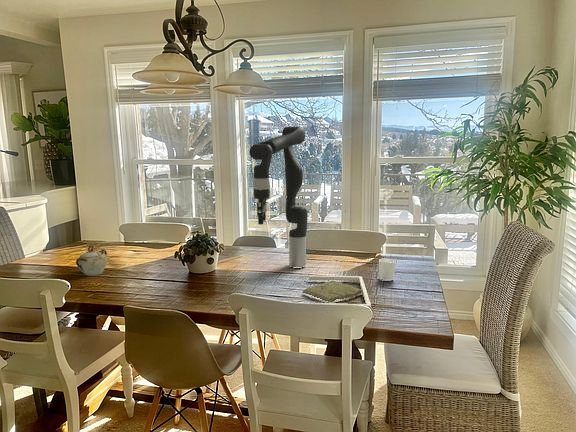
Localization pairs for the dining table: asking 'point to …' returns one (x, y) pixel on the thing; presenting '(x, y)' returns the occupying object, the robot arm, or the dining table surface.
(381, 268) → the white cup
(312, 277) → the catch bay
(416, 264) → the dining table surface
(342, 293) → the decorative tile
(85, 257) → the sugar bowl
